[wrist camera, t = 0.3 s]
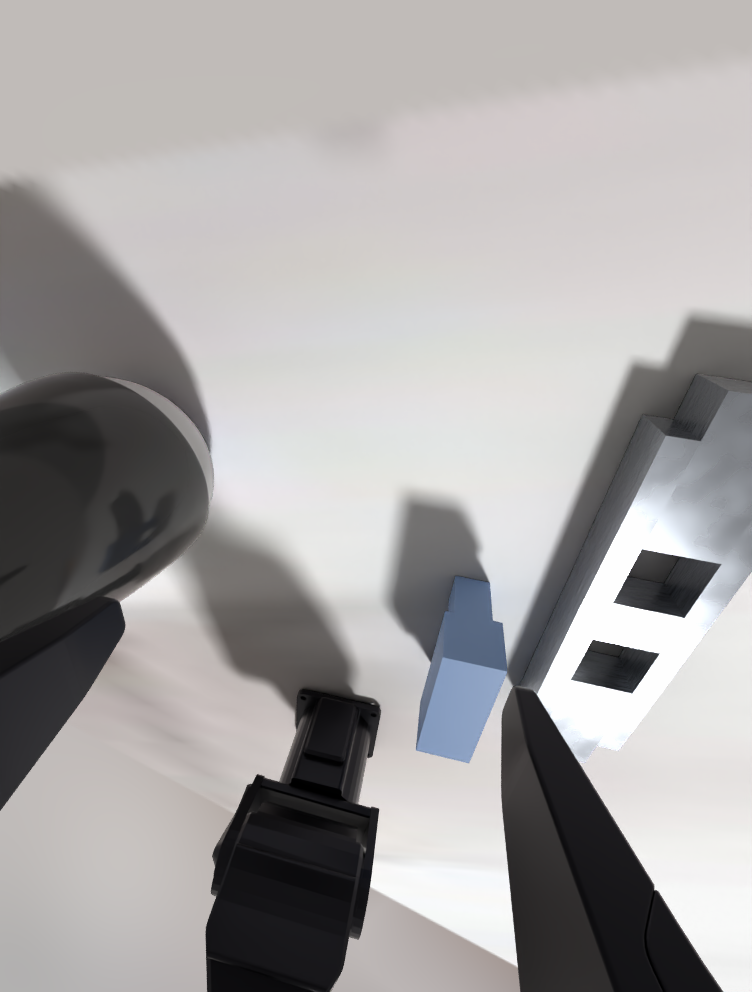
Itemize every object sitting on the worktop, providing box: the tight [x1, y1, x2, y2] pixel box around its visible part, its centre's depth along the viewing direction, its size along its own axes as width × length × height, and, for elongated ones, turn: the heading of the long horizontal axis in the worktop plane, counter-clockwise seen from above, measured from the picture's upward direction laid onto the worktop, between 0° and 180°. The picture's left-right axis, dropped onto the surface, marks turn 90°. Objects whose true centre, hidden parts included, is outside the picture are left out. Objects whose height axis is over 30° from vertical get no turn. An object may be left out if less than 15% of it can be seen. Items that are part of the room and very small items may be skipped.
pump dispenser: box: [0, 372, 214, 641], centre depth 18 cm, size 10×10×15 cm
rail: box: [520, 374, 752, 763], centre depth 22 cm, size 24×6×2 cm, turn 173°
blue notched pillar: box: [416, 576, 507, 763], centre depth 24 cm, size 8×3×6 cm, turn 173°
